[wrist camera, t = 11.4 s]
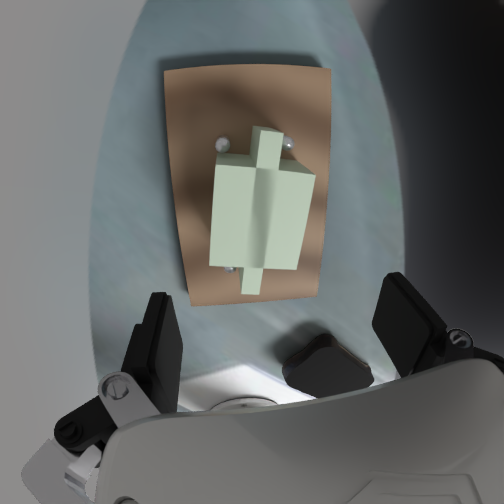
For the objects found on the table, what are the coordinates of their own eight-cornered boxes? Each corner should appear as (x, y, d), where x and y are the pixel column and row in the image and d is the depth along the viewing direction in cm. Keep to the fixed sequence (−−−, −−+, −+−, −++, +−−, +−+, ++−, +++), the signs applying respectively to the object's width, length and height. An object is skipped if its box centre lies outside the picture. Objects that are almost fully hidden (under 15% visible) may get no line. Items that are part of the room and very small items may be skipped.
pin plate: (312, 288, 30) (324, 315, 26) (192, 297, 29) (189, 326, 25) (324, 70, 19) (345, 64, 15) (167, 73, 18) (154, 65, 14)
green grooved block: (220, 122, 20) (219, 126, 15) (301, 132, 21) (322, 139, 16) (210, 259, 25) (208, 292, 21) (279, 262, 26) (290, 295, 22)
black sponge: (272, 359, 36) (276, 380, 33) (323, 325, 34) (331, 346, 30) (332, 392, 43) (338, 409, 39) (373, 366, 40) (381, 383, 37)
